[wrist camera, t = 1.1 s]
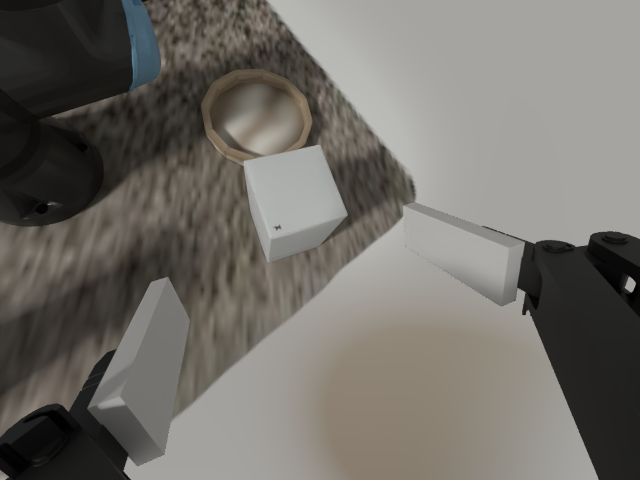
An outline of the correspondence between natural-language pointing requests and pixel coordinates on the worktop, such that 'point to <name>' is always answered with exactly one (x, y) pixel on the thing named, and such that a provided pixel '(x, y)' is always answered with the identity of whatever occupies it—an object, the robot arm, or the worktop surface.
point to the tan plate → (255, 115)
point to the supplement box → (293, 201)
